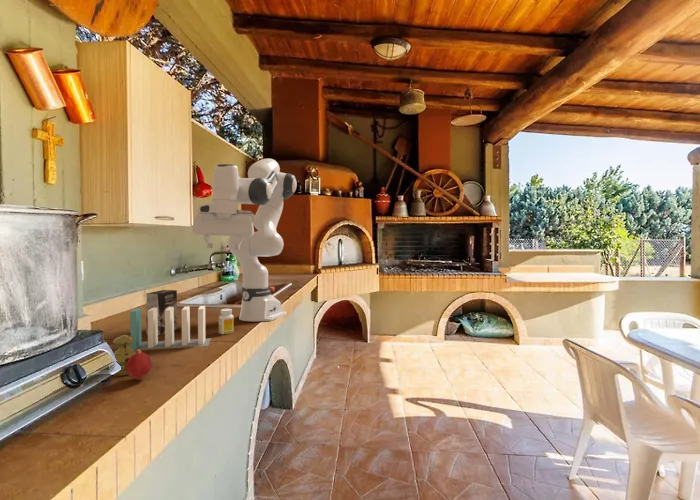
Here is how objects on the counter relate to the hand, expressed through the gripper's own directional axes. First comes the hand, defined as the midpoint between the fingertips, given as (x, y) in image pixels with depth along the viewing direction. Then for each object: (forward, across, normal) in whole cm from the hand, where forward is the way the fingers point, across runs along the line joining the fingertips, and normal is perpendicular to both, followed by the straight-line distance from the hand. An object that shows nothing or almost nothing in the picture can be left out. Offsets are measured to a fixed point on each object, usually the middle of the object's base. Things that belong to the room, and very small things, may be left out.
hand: (223, 248), depth 125 cm
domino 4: (+32, +10, +4) cm, 34 cm away
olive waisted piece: (+35, +19, +25) cm, 47 cm away
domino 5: (+32, +5, +3) cm, 33 cm away
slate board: (+34, +15, +5) cm, 37 cm away
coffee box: (+33, +24, -12) cm, 43 cm away
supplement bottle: (+33, 0, -9) cm, 34 cm away
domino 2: (+33, +20, +6) cm, 39 cm away
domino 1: (+33, +25, +6) cm, 42 cm away
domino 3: (+32, +15, +5) cm, 36 cm away
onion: (+35, +12, +32) cm, 49 cm away
